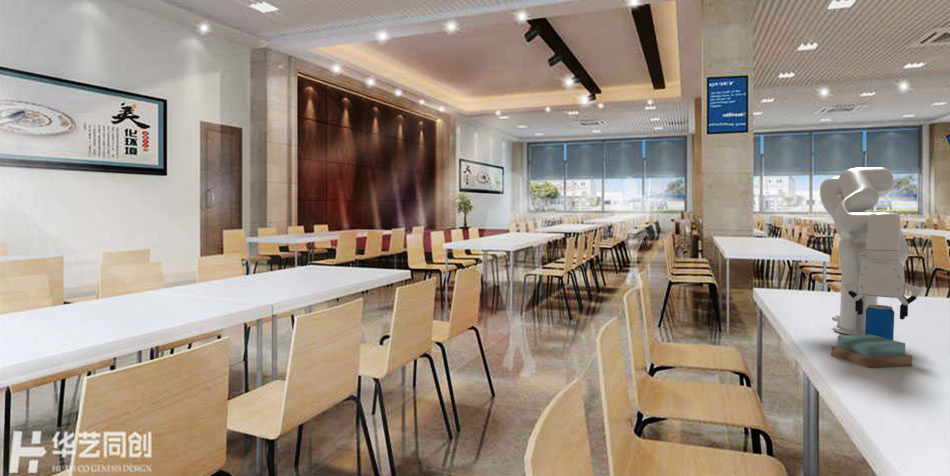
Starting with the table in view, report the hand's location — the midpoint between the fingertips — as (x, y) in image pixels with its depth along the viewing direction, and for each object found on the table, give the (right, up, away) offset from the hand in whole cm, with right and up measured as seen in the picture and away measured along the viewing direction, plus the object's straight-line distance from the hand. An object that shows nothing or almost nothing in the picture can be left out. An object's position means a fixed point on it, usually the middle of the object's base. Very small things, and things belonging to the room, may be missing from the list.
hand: (880, 316), depth 149 cm
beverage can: (0, -9, +1) cm, 9 cm away
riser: (-11, -10, -11) cm, 18 cm away
